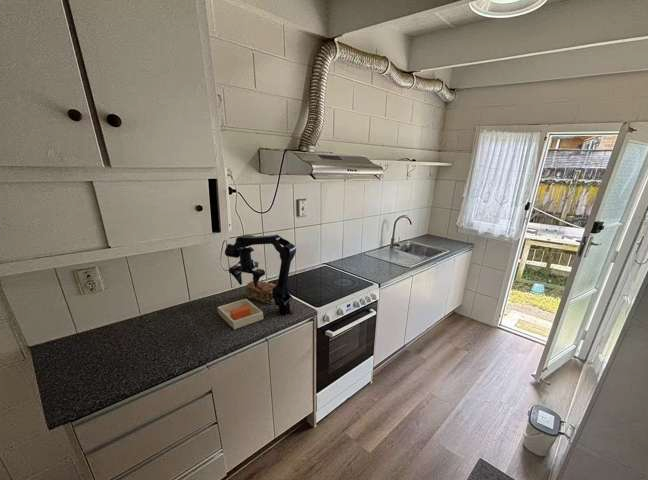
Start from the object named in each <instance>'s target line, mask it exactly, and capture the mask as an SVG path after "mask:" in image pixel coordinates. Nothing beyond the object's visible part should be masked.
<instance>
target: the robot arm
mask: <svg viewBox="0 0 648 480" xmlns="http://www.w3.org/2000/svg"><path fill="white" fill-rule="evenodd" d="M259 245H272V246H273V247H274V249H275V251H276V252H278V253H279V259H280V268H279V273H278V280H277V284H275V285H276V286H275V287H274V288H273V289H272V294H271V295H272V297H273V299H274V301H275V303H274V304H275V306H278V310H277V311H276V313H277V314H279V315H280V316H281V317H284V316H287V315H291V314H293V311H292V310H291V306H290V304H291V303H290V302H291V301H292V300H293V296H292V295H291V294H290V293H289V288H288V280H289V274H290V270H291V269H290V268H291V263H292V261H293V259H294V258H295V255H296V253H297V247H296V246H295V244H293V243H291V242H290V241H289V240H287V239H285V238H283V237H282V236H280V235H279V234H273V235H272V234H269V235H257V236H255V235H252V234H243V235H240V236H237V237H236V238H235V242H234V244H232V243H228V244H226V247H225V250H224V255H225V256H226V257H228V258H233V259H238V258H239V261H238V264H240V265H236V264H234V265H232V266H230V267H229V268H228V274H231V275H232V276H233V277H234V279H235V280H236V281H237V282H238V284H239V285H240V286H241V285H243V279H242V278H243V277H242V273H244V274H252V281H253V282H254V286H255V287H257V284H258V281H260V279H261V278H263V277H264V276H265V275H266V270H265V269H263V268H259V261H254V259H252V252H254V251H255V249H254V248H253V247H252V246H259ZM256 268H257V269H256Z"/></svg>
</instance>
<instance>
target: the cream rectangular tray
mask: <svg viewBox="0 0 648 480" xmlns="http://www.w3.org/2000/svg"><path fill="white" fill-rule="evenodd" d="M244 306H248V307H249V308H250V313H251V315H249V316H246V317H243V318H240V319H237V320H233V319H232V318H231V315H230V311H231V310H234V309H237V308H241V307H244ZM217 313H218V315H219V316H220V317H221V318H222V319H223V320H224V321H225V322H226V323H227V324H228V325H229V326H230V327H231V328H232V329H233V330H236V329H240V328H242V327H245V326H248V325H250V324H253V323H256V322H259V321H262V320H264V312H263V311H262V310H261V309H260V308H259V307H257V306H256V305H255V304H254V303H252V302H251V301H250V300H249V299H247V298H244V299H240V300H237V301H233V302H229V303H227V304H223V305H220V306H217Z"/></svg>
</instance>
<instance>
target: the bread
mask: <svg viewBox="0 0 648 480" xmlns="http://www.w3.org/2000/svg"><path fill="white" fill-rule="evenodd" d="M276 285H277V284H275V283H273V282H268V281H263V280H259V281H258V284H257V287H255V286H254V282H253V280H251V281H249V282H248V283H247V284H246V285H245V295H246V297H247V298H248V299H251V300H255V301H258V302H261V303H265V304H270V305H273V304H276V303H275V301H274V299H273V297H272V295H271V294H272V289H273V288H274V287H275V286H276Z"/></svg>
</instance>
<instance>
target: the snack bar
mask: <svg viewBox="0 0 648 480" xmlns="http://www.w3.org/2000/svg"><path fill="white" fill-rule="evenodd" d="M230 315H231V318H232V319H233V320H237V319H240V318H243V317H246V316H249V315H251V313H250V308H249V307H248V306H244V307H241V308H237V309H234V310H231V311H230Z"/></svg>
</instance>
